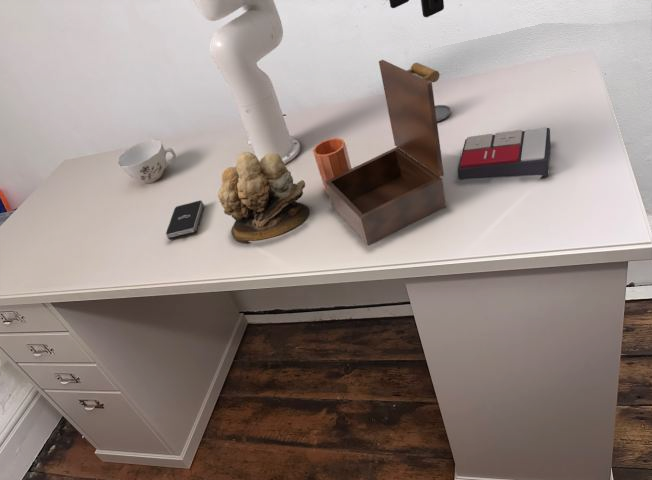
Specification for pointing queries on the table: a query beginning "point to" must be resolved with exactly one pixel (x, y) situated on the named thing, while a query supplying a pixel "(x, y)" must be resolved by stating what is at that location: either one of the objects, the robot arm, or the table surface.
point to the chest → (385, 195)
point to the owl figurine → (261, 198)
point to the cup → (331, 159)
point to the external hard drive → (185, 220)
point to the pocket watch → (442, 112)
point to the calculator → (506, 154)
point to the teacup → (146, 161)
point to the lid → (413, 112)
